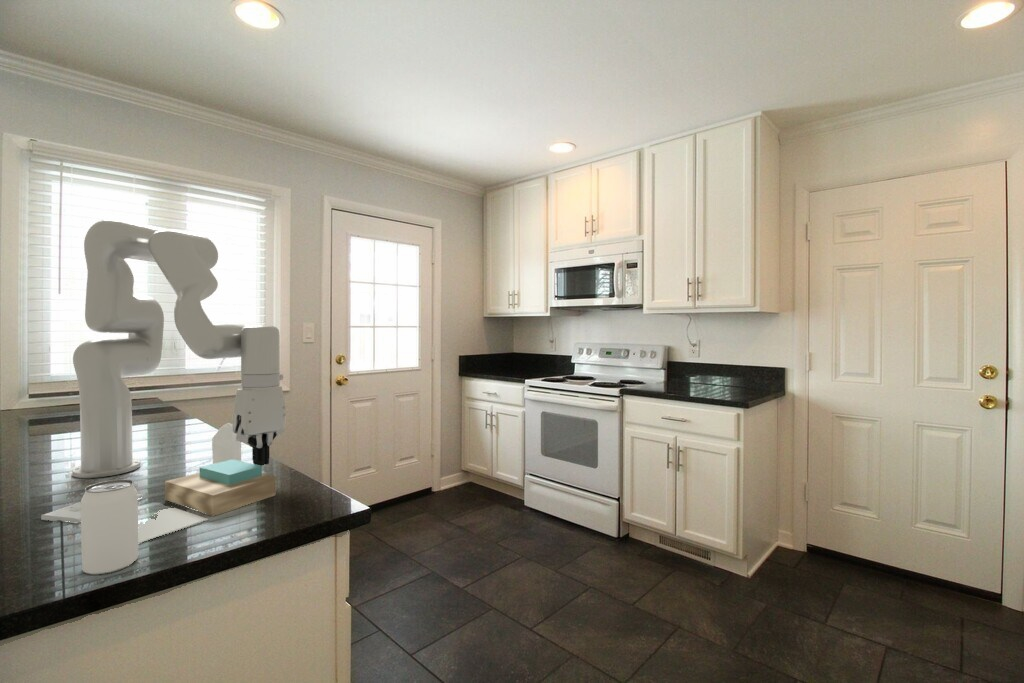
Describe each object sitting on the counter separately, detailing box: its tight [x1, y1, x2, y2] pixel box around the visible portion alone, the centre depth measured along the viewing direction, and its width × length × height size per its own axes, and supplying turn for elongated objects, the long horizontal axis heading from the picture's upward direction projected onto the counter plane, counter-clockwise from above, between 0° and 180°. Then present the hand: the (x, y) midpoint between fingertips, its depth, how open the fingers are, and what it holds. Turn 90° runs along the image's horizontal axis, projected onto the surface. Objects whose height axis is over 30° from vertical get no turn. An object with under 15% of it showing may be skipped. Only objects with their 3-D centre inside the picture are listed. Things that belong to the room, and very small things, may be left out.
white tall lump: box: [211, 422, 242, 464], centre depth 116 cm, size 6×12×6 cm
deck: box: [164, 472, 276, 517], centre depth 100 cm, size 16×13×4 cm
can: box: [80, 478, 139, 576], centre depth 72 cm, size 6×6×12 cm
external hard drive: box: [40, 493, 143, 522], centre depth 94 cm, size 2×8×12 cm
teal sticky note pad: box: [199, 459, 263, 485], centre depth 102 cm, size 10×7×2 cm
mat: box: [138, 507, 209, 544], centre depth 88 cm, size 18×11×1 cm, turn 62°
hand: (261, 463), depth 108 cm, fingers closed
